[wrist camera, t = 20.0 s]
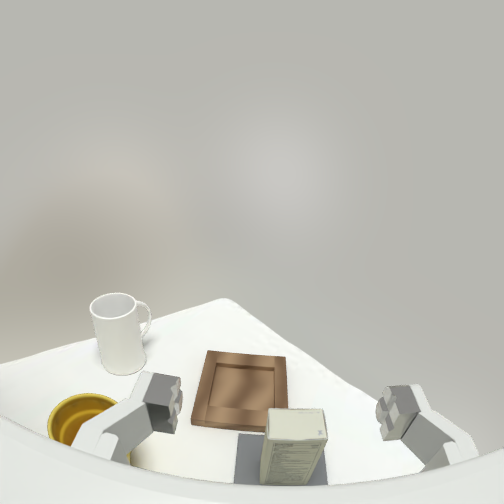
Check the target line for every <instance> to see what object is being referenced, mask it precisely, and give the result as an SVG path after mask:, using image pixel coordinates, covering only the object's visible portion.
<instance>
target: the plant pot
mask: <svg viewBox="0 0 504 504" xmlns="http://www.w3.org/2000/svg"><path fill="white" fill-rule="evenodd" d="M115 404H117V402H116V401H114V400H113V399H111V398H109V397H107V396H104V395H100V394H93V393H84V394H78V395H74V396H71V397H69V398H67V399H65V400H63V401H62V402H60V403H59V404H58V405H57V406H56V407H55V408H54V409H53V411H52V412H51V414H50V416H49V419H48V425H47V429H48V435H49V438H50V439H53V440H55V441H57V442H60V443H62V444H65V445H68V446H70V447H71V445H72V443H73V441H74V439H75V437H76V435H77V433H78V431H79V429H80V427H81V425H82V424H83V423H85V422H87V421H88V420H90V419H92V418H93V417H95V416H97V415H99V414H100V413H102V412H104V411H105V410H107V409H109V408H110V407H112V406H114V405H115ZM130 453H131V451H130V452H129V453H128V454H127V455H126V456H127V458H128V460H129V462H130Z"/></svg>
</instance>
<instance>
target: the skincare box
mask: <svg viewBox="0 0 504 504" xmlns="http://www.w3.org/2000/svg"><path fill="white" fill-rule="evenodd" d="M327 440H328V433H327V426H326V419H325V414H324V410H323V409H280V408H269V409H268V416H267V423H266V429H265V436H264V442H263V448H262V454H261V462H260V484H262V485H306V484H307V483H308V481H309V479H310V477H311V475H312V473H313V471H314V469H315V467H316V464H317V462H318V460H319V458H320V456H321V454H322V451H323V449H324V447H325V445H326V443H327Z"/></svg>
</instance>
